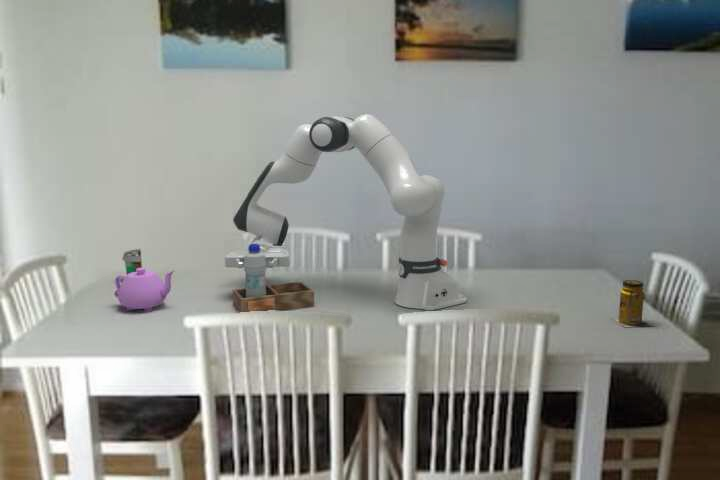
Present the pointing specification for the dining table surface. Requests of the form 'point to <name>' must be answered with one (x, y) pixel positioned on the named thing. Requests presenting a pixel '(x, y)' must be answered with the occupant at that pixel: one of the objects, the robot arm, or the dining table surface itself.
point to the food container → (132, 260)
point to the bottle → (255, 272)
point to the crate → (275, 298)
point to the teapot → (142, 289)
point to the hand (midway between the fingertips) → (255, 265)
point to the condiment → (631, 305)
